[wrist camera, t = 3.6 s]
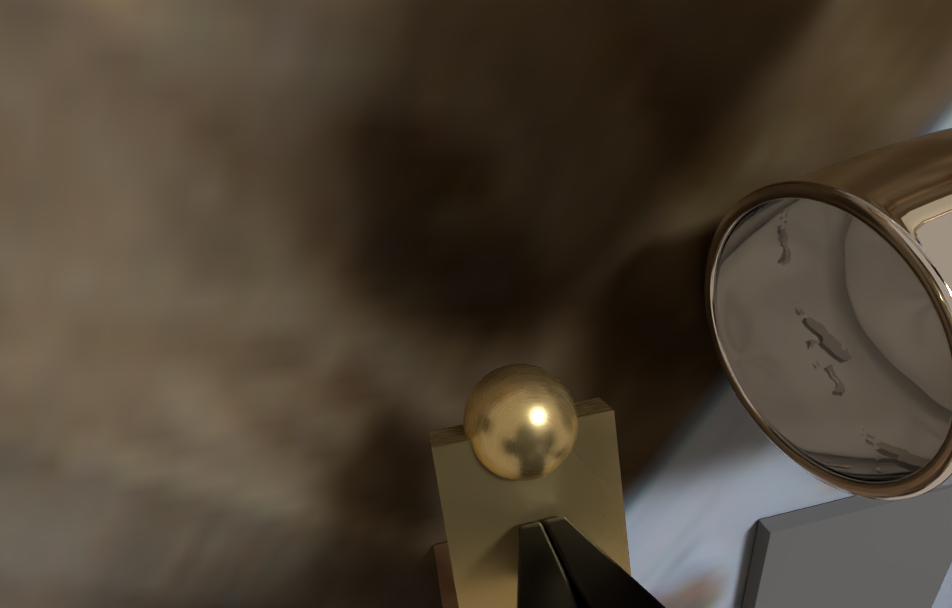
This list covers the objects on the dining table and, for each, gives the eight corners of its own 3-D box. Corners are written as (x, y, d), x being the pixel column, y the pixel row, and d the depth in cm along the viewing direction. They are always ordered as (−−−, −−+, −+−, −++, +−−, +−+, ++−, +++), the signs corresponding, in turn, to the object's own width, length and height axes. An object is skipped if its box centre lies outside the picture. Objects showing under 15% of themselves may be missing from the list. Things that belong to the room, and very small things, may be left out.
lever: (643, 717, 12) (694, 815, 10) (462, 770, 11) (478, 886, 9) (604, 333, 10) (655, 359, 8) (390, 373, 10) (391, 411, 8)
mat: (908, 616, 24) (921, 629, 23) (729, 668, 23) (738, 683, 22) (971, 466, 20) (988, 478, 19) (759, 519, 19) (770, 533, 18)
